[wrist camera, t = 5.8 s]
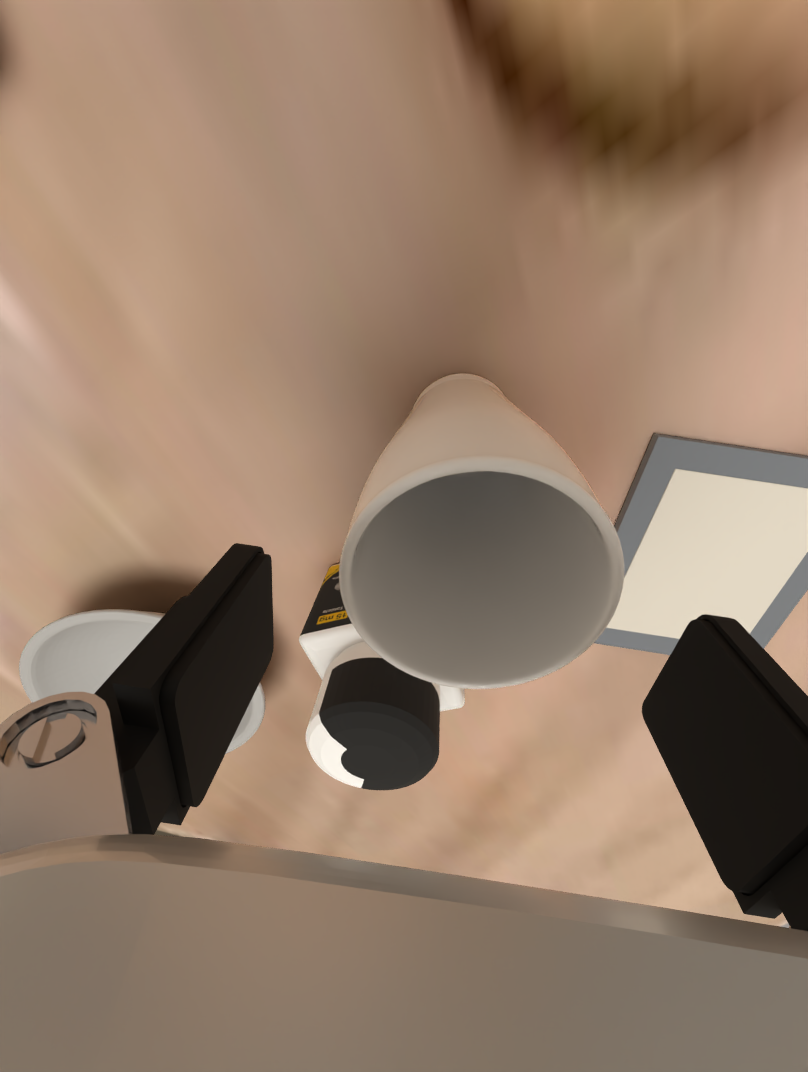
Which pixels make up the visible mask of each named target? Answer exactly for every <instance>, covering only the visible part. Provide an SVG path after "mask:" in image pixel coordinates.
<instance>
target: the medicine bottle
mask: <svg viewBox="0 0 808 1072" xmlns="http://www.w3.org/2000/svg"><path fill="white" fill-rule="evenodd" d="M339 566H340V564H336V565H332V566H331V567H330V568H329V569H328V572H327V574H326V576H325V579H324V581H323V583H322V586H321V588H320V591H319V593H318V595H317V598H316V600H315V602H314V605H313V607H312V609H311V612H310V614H309V616H308V619H307V621H306V623H305V626H304V628H303V631H302V633H301V635H300V638H299V642H300V644H301V646H302V648H303V649H304V651H305V653H306V654H307V656H308V658H309V659H310V661H311V663H312V664H313V666H314V667H315V669H316V671H317V672H318V674H319V676H320V677H321V679H322V684H321V687H320V690H319V693H318V696H317V699H316V702H315V705H314V709H313V712H312V715H311V718H310V721H309V724H308V727H307V731H306V743H307V747H308V749H309V752H310V754H311V756H312V758H313V759H314V761H315V762H316V764H317V765H318V766H319V767H320V768H321V769H322V770H323V771H324V772H326V773H327V774H328V775H330V776H331V777H333V778H335V779H337V780H339V781H341V782H343V783H345V784H348V785H351V786H355V787H358V788H363V789H369V790H393V789H399V788H403V787H407V786H409V785H412V784H414V783H416V782H418V781H419V780H421V779H422V778H423V777H424V776H426V775H427V774H428V773H429V771H430V770H431V769H432V768H433V767H434V765H435V764H436V762H437V759H438V755H439V724H440V711H444V710H451V709H457V708H461V707H463V705H464V703H465V696H464V689H463V688H455V687H449V686H443V685H439V684H435V683H431V682H428V681H425V680H422V679H419V678H417V677H414V676H412V675H410V674H408V673H406V672H404V671H402V670H400V669H398V668H396V667H395V666H393V665H391V664H390V663H388V662H387V661H386V660H384V659H383V658H382V657H380V656H379V655H378V654H377V653H376V652H375V651H373V650H372V649H371V648H370V647H369V646H368V644H367V643H366V642H365V641H364V640H363V639H362V638H361V636H360V635H359V634H358V632H357V631H356V629H355V628H354V626H353V624H352V623H351V621H350V619H349V617H348V615H347V612H346V610H345V607H344V604H343V600H342V596H341V592H340V584H339Z"/></svg>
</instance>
